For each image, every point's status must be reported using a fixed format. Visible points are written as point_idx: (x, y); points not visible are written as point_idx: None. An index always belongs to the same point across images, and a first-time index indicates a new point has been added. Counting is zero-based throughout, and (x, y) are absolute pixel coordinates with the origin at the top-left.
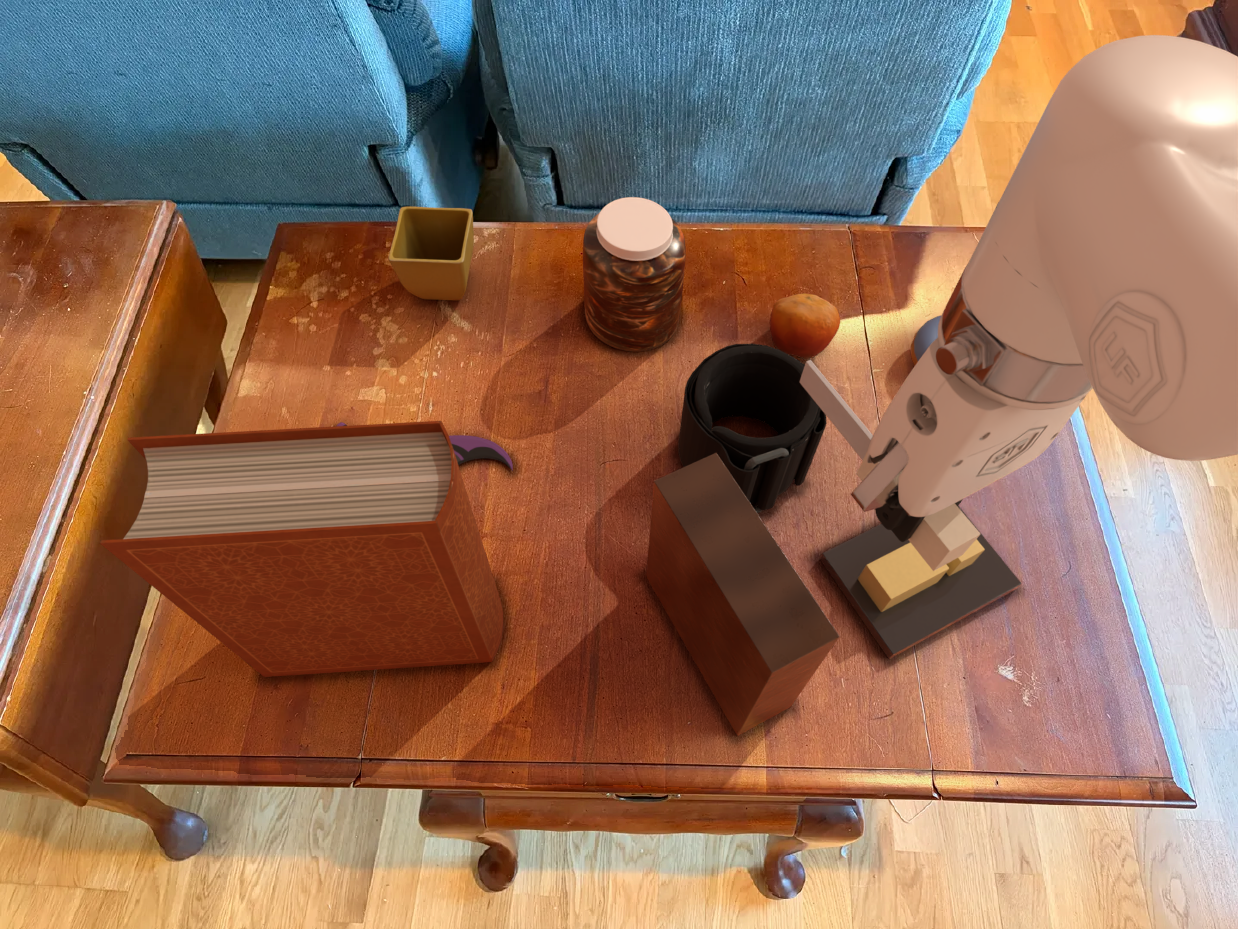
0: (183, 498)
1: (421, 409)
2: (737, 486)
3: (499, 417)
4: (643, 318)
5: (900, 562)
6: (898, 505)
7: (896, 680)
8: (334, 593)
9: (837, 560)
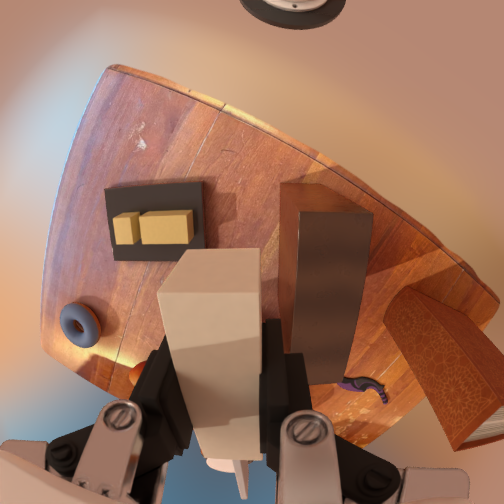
0: None
1: (352, 402)
2: None
3: (325, 392)
4: None
5: (166, 234)
6: (384, 472)
7: (206, 166)
8: (490, 359)
9: None
